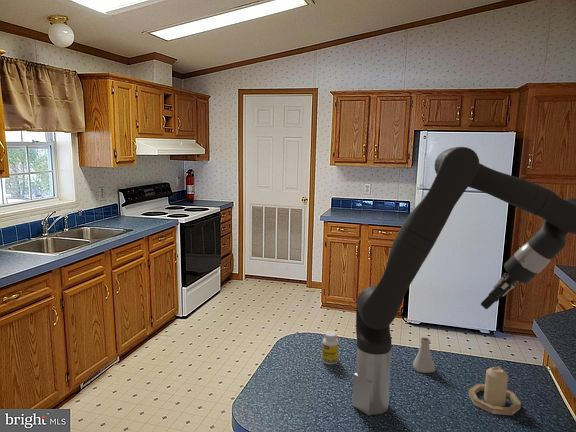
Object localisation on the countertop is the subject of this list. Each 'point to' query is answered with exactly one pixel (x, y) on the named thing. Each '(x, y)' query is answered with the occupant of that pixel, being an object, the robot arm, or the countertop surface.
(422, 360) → the flask
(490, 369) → the candle
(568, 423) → the countertop surface
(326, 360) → the supplement bottle
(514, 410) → the maple ring
